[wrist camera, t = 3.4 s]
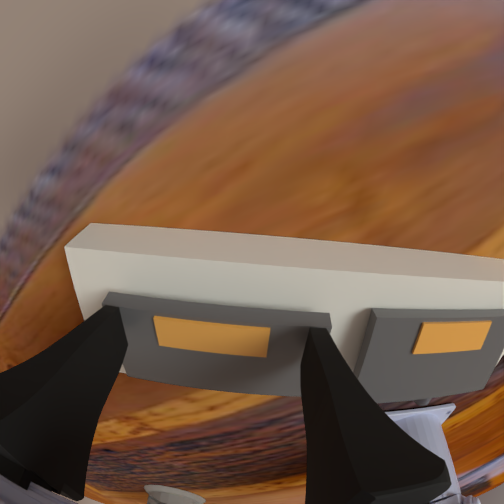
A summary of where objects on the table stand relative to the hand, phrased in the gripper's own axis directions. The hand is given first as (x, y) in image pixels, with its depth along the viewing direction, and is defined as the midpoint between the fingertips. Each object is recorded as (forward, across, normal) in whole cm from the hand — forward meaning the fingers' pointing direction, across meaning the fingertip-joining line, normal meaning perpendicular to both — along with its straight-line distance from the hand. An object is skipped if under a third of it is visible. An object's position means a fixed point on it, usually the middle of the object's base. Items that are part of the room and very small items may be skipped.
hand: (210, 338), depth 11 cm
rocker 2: (+1, -11, +2) cm, 11 cm away
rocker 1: (+1, 0, +2) cm, 2 cm away
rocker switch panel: (+5, -5, +4) cm, 8 cm away
